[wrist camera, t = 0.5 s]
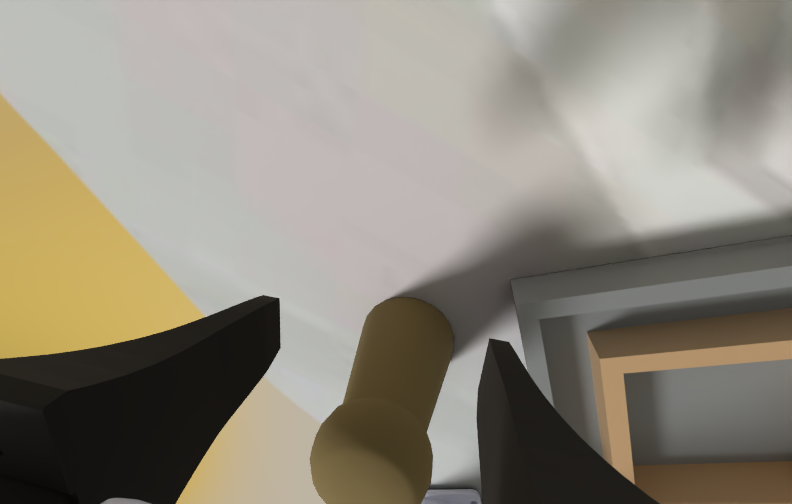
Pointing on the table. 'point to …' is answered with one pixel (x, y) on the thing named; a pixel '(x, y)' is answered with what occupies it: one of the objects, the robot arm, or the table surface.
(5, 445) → the robot arm
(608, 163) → the table surface
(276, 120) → the table surface
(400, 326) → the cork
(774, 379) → the tray
